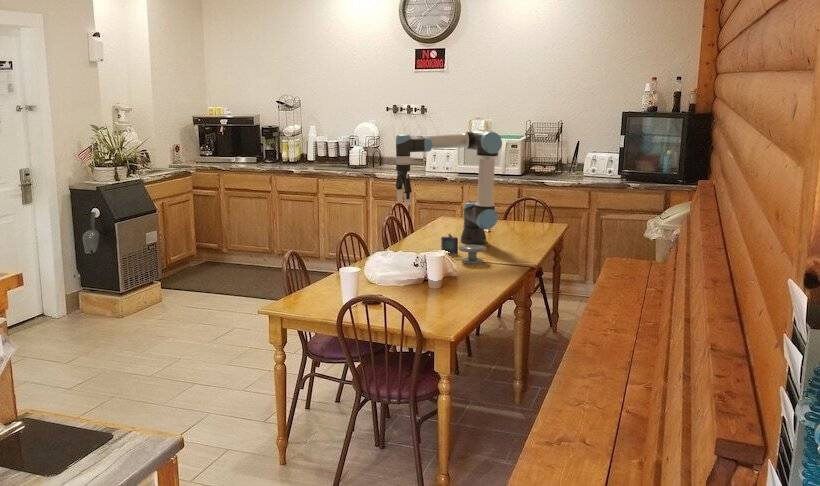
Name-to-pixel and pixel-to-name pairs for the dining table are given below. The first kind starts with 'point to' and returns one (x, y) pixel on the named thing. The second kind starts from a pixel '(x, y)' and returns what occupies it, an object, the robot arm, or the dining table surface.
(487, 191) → the robot arm
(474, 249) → the cake stand
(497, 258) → the dining table surface
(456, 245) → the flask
